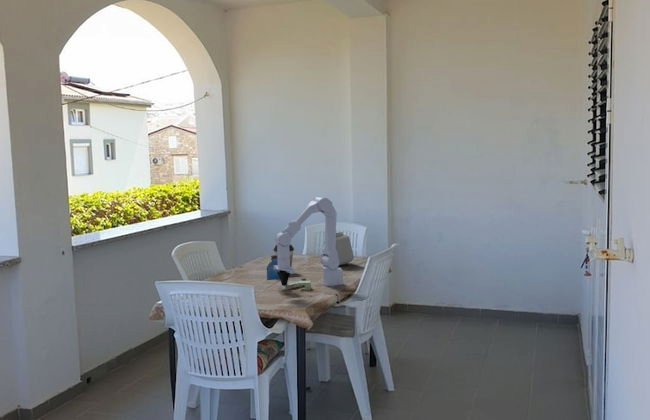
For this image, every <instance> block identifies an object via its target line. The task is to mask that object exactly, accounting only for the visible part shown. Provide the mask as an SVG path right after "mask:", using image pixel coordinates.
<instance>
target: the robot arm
mask: <svg viewBox="0 0 650 420" xmlns="http://www.w3.org/2000/svg"><path fill="white" fill-rule="evenodd" d="M319 212H320V213H321V214H323V216H324V217H325V218H324V219H325V220H324V221H325V222H324V223H325V226H324V227H325V229H324V242H325V244H324V249H323V250H322V255H321V257H320V263H321V266H322V284H323V286H326V287H327V286H328V287H333V286H340V285H344V273H343V269H342V268H341V267H340V265H339V259H338V253H337V251H336V233H337V217H338V216H337V211H336V209H335V207H334V205H333V202H332V201H331V200H330V199H329V198H327V197H321V196H316V197H314V198H313V199H312V200H311V201H310V202H309V203H308V205H307V206H306V207H305V208H304V210H303V211H301V213H300V214H299V216H298V217H296V219H293V220H291V221H288V222H287V225H286V226H285V228H284V229H281V231H280V232H279V233H277V234H276V237H275V238H274V240H275V243H276V245H277V256H278V265H274V270H280V271H279V272H277V274H278V276H279V278H280V279H279V281H280V283H281V286H282V285H286V284H288V281H289V278H290V276H291V275H292V274H295V273H296V272H295V268H291V267H290V251H289V244H291V243H292V239H293V238H295V236H296V235H297V233H299V231H300V230H301V229H302V224H303V223H305V222H306V221H307V219H309V218H310V217H311V215H313V214H316V213H319Z"/></svg>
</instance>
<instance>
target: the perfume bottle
mask: <svg viewBox="0 0 650 420" xmlns="http://www.w3.org/2000/svg"><path fill="white" fill-rule="evenodd" d="M277 260H278V258H277V255H275V254H274V255H271V256H270V262H269V263H268V265H267V267H266V280H268V279H269V280H270V281H274V280H280V278H279V276H278V274H277V272H279V271H280V270H274V265H278V262H277Z"/></svg>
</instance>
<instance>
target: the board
mask: <svg viewBox="0 0 650 420" xmlns="http://www.w3.org/2000/svg"><path fill="white" fill-rule="evenodd" d="M306 280H307V278H305V277H302V278H301V279H300V281H306ZM271 288H272V289H273V290H274V291H276V292H277V293H278V294H280V295H281V296H288V295H298V294H307V293H315V292H316V293H317V292H321V290H320V289H319V288H317V287H316V286H314V285H313V284H311V289H310V290H305V286H301V287H297V288H293V289H288V290H282V286H274V287H271Z"/></svg>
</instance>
